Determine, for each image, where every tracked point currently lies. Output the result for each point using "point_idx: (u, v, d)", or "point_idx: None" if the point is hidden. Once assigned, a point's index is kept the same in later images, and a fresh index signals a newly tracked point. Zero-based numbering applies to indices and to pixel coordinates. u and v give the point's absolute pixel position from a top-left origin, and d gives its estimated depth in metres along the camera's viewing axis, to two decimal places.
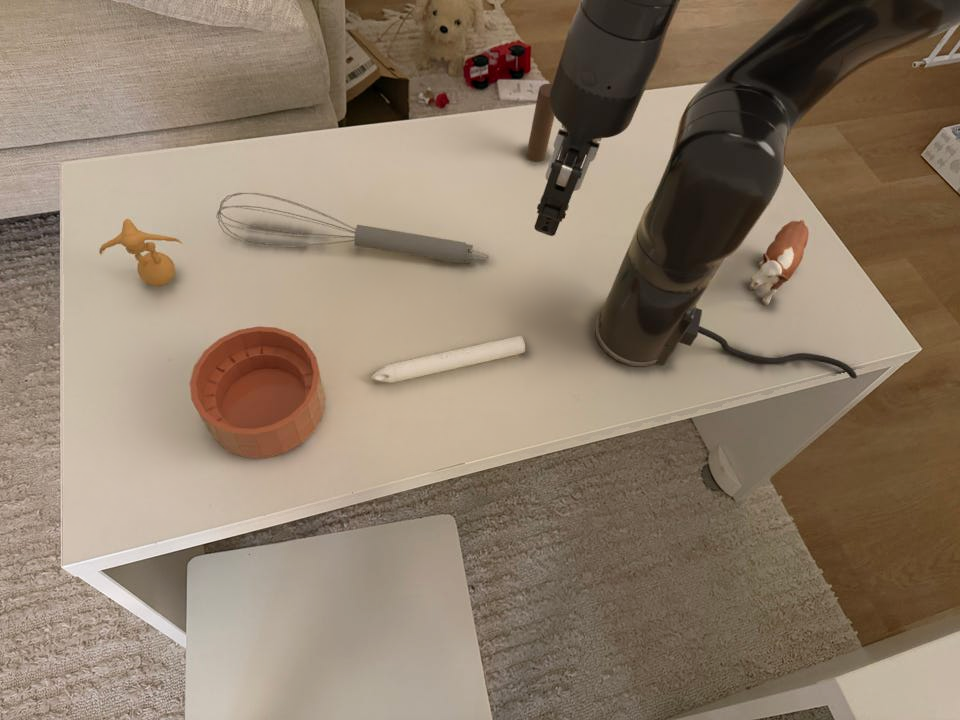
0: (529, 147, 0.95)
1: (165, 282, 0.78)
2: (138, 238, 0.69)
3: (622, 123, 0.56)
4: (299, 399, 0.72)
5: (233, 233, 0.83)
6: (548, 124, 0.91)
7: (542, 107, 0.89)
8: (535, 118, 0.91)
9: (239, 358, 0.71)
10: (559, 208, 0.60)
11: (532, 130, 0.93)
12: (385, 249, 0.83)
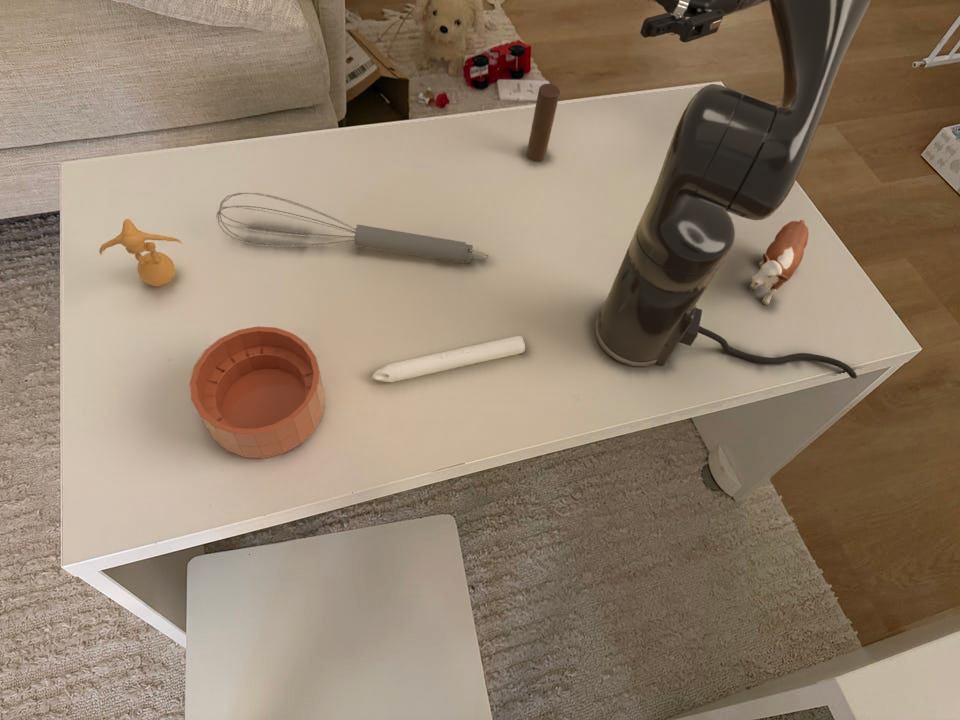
0: (529, 147, 0.95)
1: (165, 282, 0.78)
2: (138, 238, 0.69)
3: None
4: (299, 399, 0.72)
5: (233, 233, 0.83)
6: (548, 124, 0.91)
7: (542, 107, 0.89)
8: (535, 118, 0.91)
9: (239, 358, 0.71)
10: None
11: (532, 130, 0.93)
12: (385, 249, 0.83)
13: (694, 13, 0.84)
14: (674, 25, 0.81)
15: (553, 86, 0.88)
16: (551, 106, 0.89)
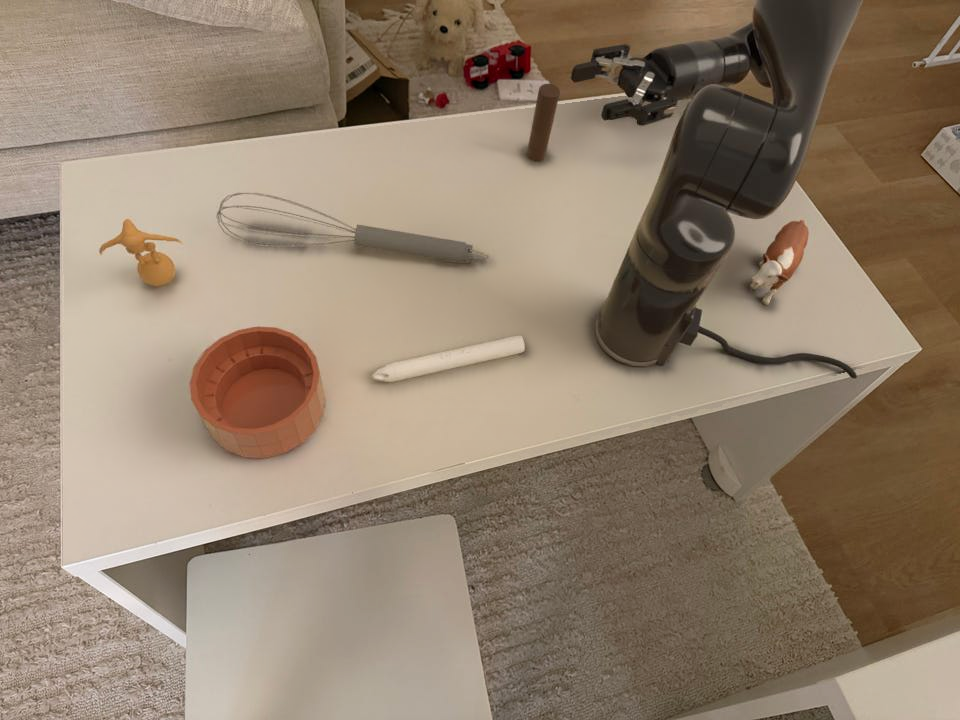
0: (529, 147, 0.95)
1: (165, 282, 0.78)
2: (138, 238, 0.69)
3: (664, 47, 0.94)
4: (299, 399, 0.72)
5: (233, 233, 0.83)
6: (548, 124, 0.91)
7: (542, 107, 0.89)
8: (535, 118, 0.91)
9: (239, 358, 0.71)
10: None
11: (532, 130, 0.93)
12: (385, 249, 0.83)
13: (651, 99, 0.93)
14: (631, 110, 0.90)
15: (553, 86, 0.88)
16: (551, 106, 0.89)
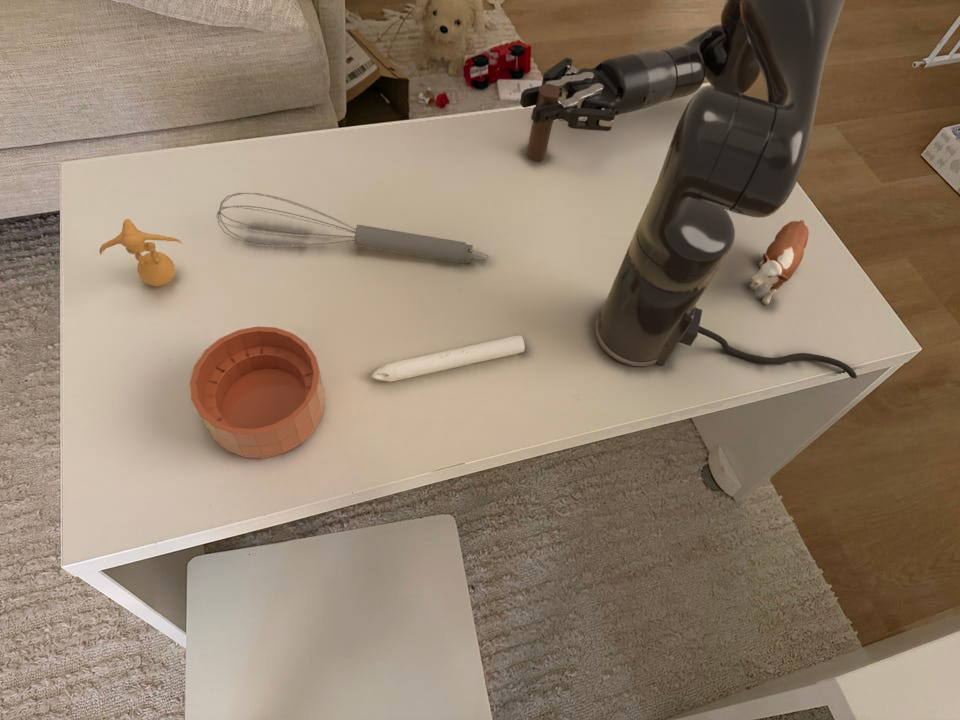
0: (529, 147, 0.95)
1: (165, 282, 0.78)
2: (138, 238, 0.69)
3: None
4: (299, 399, 0.72)
5: (233, 233, 0.83)
6: (548, 124, 0.91)
7: None
8: None
9: (239, 358, 0.71)
10: None
11: (532, 130, 0.93)
12: (385, 249, 0.83)
13: None
14: (559, 111, 0.88)
15: (553, 86, 0.88)
16: None
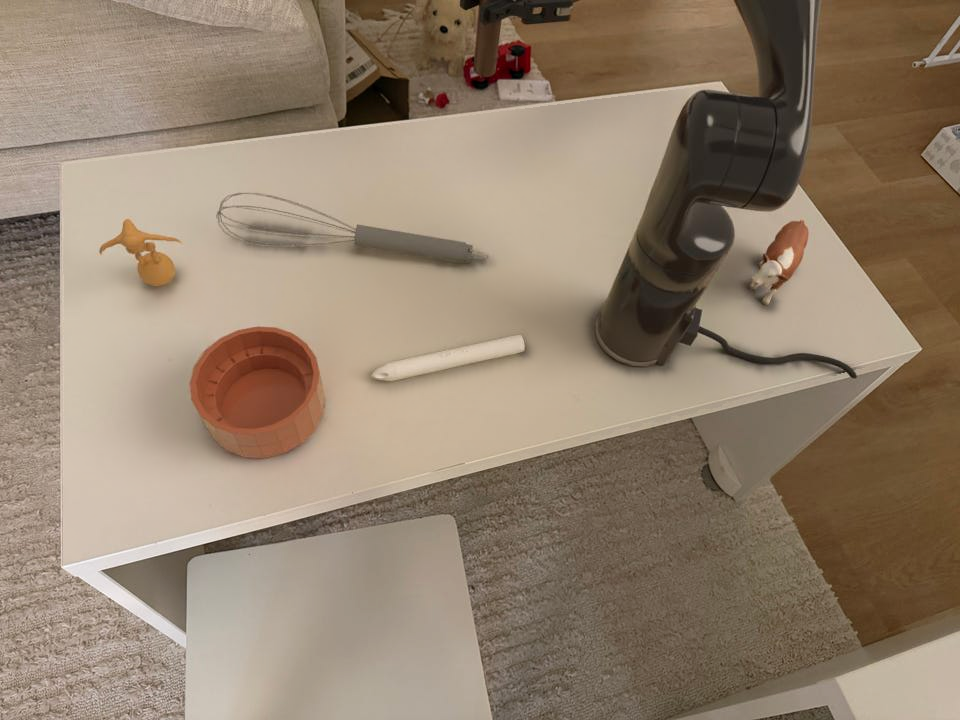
0: (477, 60, 0.81)
1: (165, 282, 0.78)
2: (138, 238, 0.69)
3: None
4: (299, 399, 0.72)
5: (233, 233, 0.83)
6: (497, 26, 0.77)
7: None
8: None
9: (239, 358, 0.71)
10: None
11: (478, 38, 0.79)
12: (385, 249, 0.83)
13: None
14: (509, 6, 0.75)
15: None
16: None
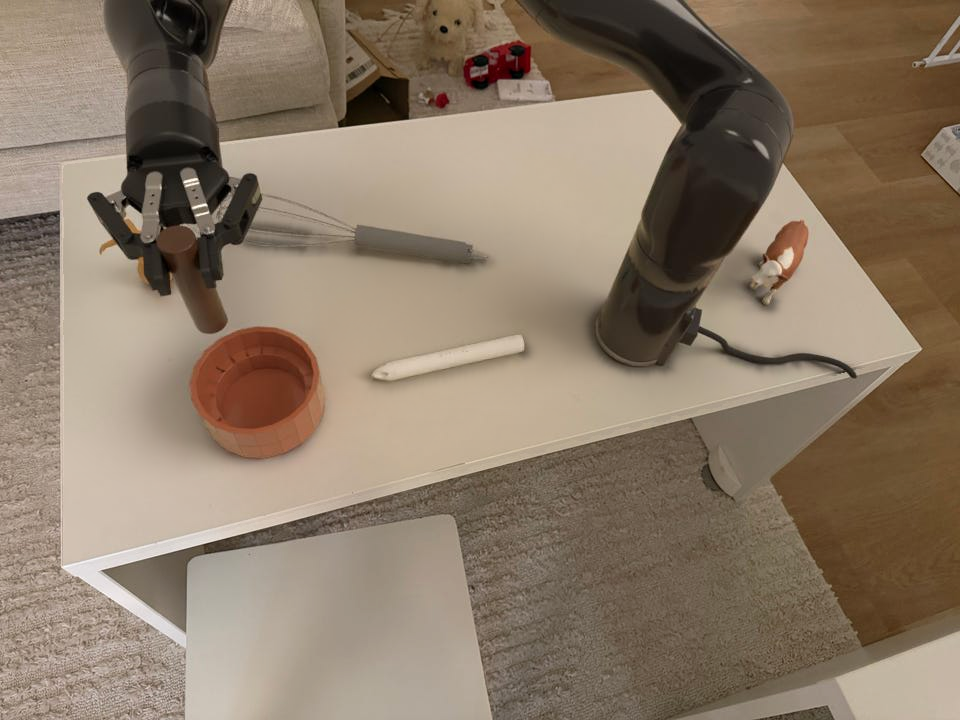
0: (207, 322, 0.57)
1: None
2: None
3: (135, 132, 0.54)
4: (299, 399, 0.72)
5: None
6: None
7: (194, 264, 0.52)
8: (192, 286, 0.53)
9: (239, 358, 0.71)
10: None
11: (197, 302, 0.55)
12: (385, 249, 0.83)
13: (222, 193, 0.56)
14: None
15: (167, 231, 0.51)
16: None
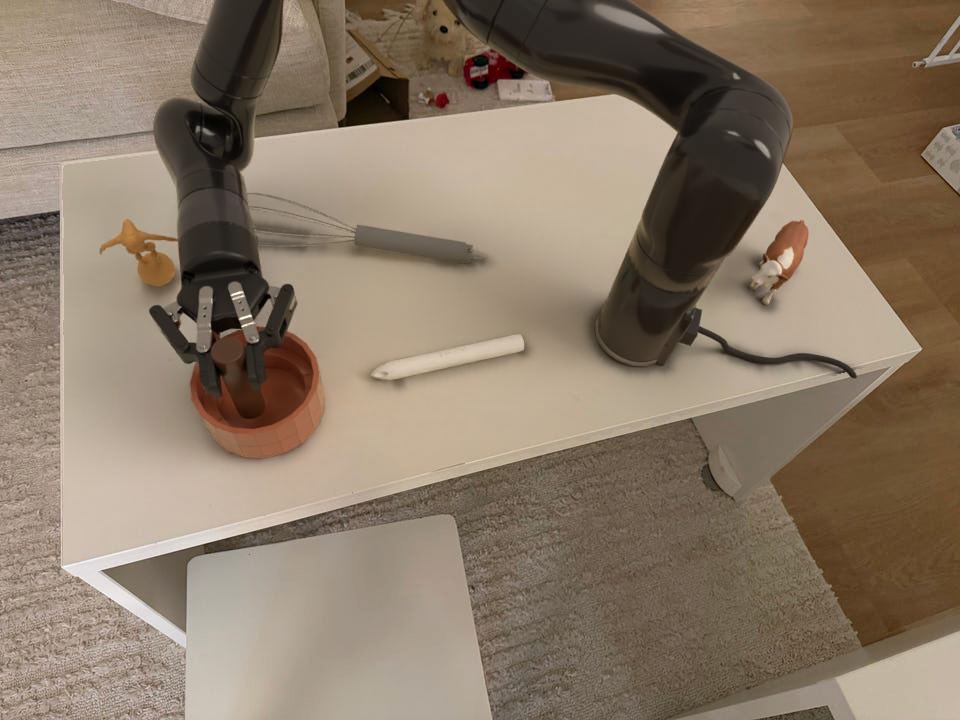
0: (249, 410, 0.66)
1: (165, 282, 0.78)
2: (138, 238, 0.69)
3: (189, 251, 0.63)
4: (299, 399, 0.72)
5: None
6: None
7: (242, 370, 0.60)
8: (239, 385, 0.62)
9: None
10: None
11: (242, 397, 0.63)
12: (385, 249, 0.83)
13: (262, 300, 0.65)
14: None
15: (220, 342, 0.59)
16: None
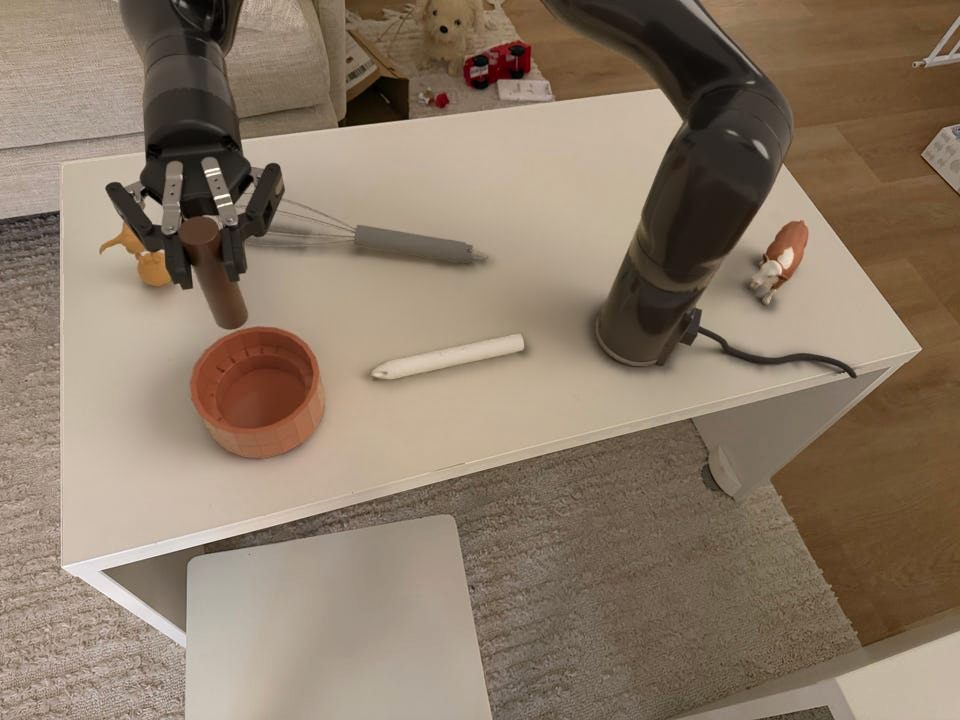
0: (228, 317, 0.55)
1: (165, 282, 0.78)
2: None
3: (155, 120, 0.52)
4: (299, 399, 0.72)
5: None
6: None
7: (217, 257, 0.50)
8: (214, 279, 0.51)
9: (239, 358, 0.71)
10: None
11: (218, 296, 0.53)
12: (385, 249, 0.83)
13: (243, 184, 0.54)
14: None
15: (190, 222, 0.49)
16: None
